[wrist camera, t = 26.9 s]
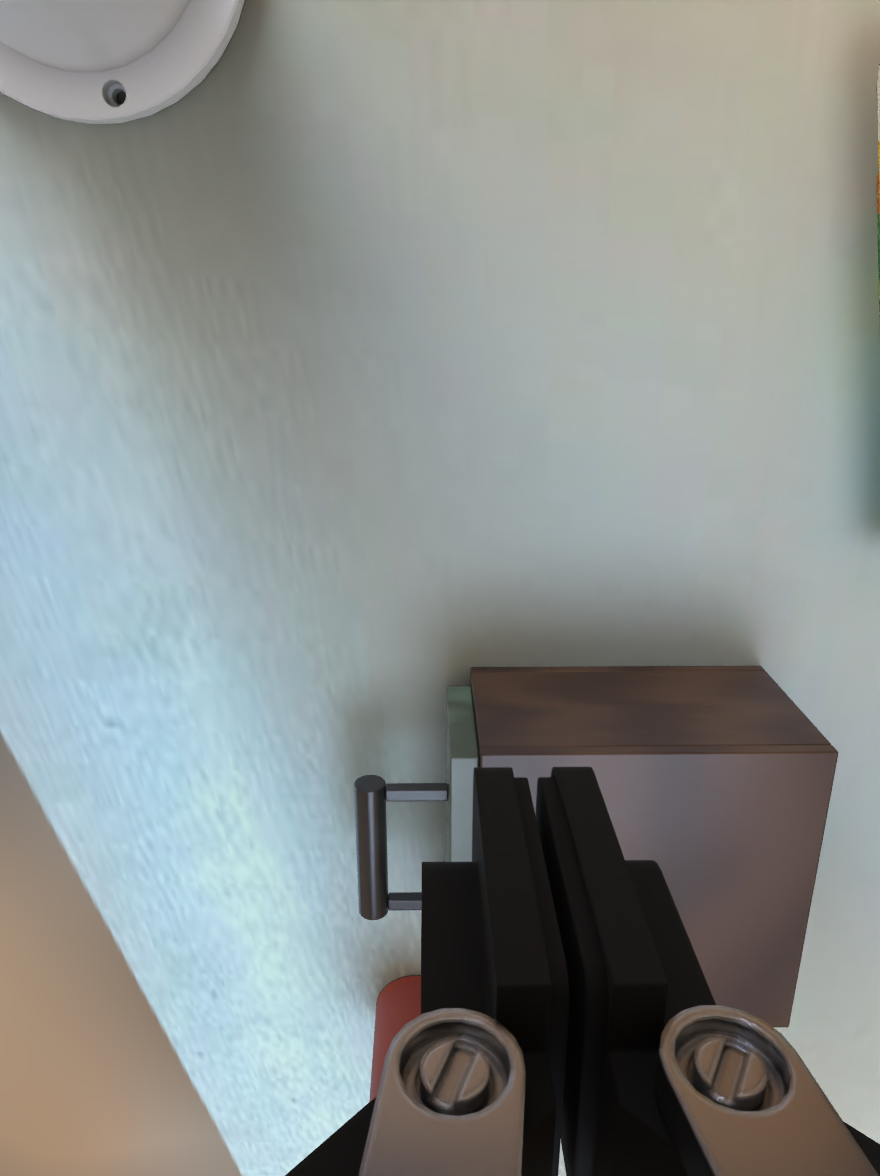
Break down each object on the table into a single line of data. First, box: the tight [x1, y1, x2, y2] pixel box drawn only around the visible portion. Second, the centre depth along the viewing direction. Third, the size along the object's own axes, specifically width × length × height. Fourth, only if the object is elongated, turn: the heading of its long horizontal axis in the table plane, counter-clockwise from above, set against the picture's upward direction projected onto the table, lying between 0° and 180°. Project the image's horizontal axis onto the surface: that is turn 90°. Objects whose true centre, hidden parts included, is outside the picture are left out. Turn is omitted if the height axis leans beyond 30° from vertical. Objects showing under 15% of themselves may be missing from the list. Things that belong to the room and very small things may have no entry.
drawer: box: [354, 686, 479, 920], centre depth 39 cm, size 18×13×7 cm
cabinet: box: [470, 666, 838, 1027], centre depth 39 cm, size 14×14×8 cm
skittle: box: [370, 976, 421, 1101], centre depth 41 cm, size 4×4×14 cm
